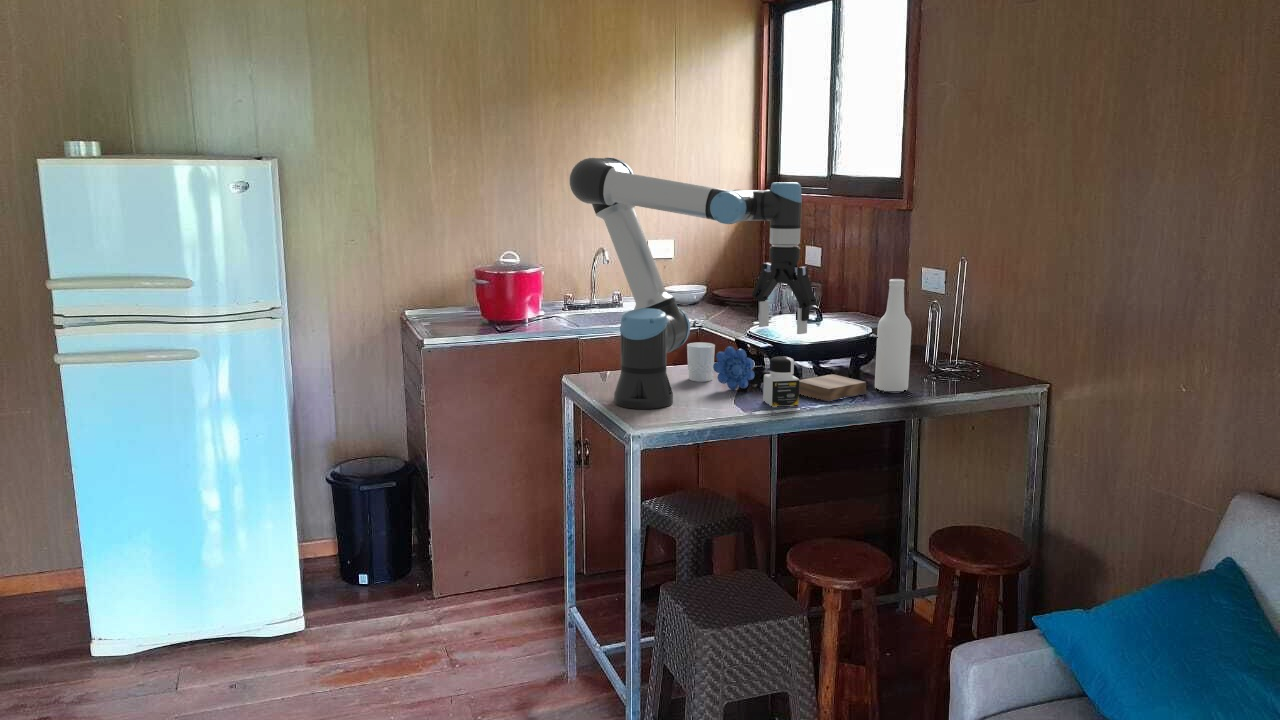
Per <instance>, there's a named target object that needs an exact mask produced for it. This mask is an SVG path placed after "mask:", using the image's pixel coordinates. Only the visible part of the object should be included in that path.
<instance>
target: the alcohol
mask: <svg viewBox="0 0 1280 720" xmlns="http://www.w3.org/2000/svg"><path fill="white" fill-rule="evenodd" d="M888 282H889V284H888V286H889V287H888V288H889V289H888V297H887V303H886V311H885V313H884V315H883V316H881V318H880V319H879V320H878V324H877V331H876V334H877V336H876V351H875V369H874V370H875V371H874V374H875V375H874V388H875V389H876V388H877V389H879V390H884V391H904V390H906V391H907V390H908V389H909V380H910V379H909V378H910V377H909V376H910V360H911V347H912V346H911V345H912V343H911V342H912V341H911V340H912V330H913V329H912V323H911V321H910V319H909V318H908V316H907V315H906V312H905V283H906V282H905V279H902V278H890V279H889V280H888ZM877 337H878V338H877Z"/></svg>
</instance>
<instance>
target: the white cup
mask: <svg viewBox="0 0 1280 720" xmlns="http://www.w3.org/2000/svg"><path fill="white" fill-rule="evenodd" d="M686 350H687V351H686V353H687V354H686V355H687V357H686V358H687V370H688V380H689V381H692V382H699V383H701V382H702V383H703V382H705V383H706V382H710V381H713V377H714V376H713V373H714V368H713V365H714V363H715V350H716V344H714V343H711V342H701V341H700V342H699V341H698V342H690V343H687V344H686Z"/></svg>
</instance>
